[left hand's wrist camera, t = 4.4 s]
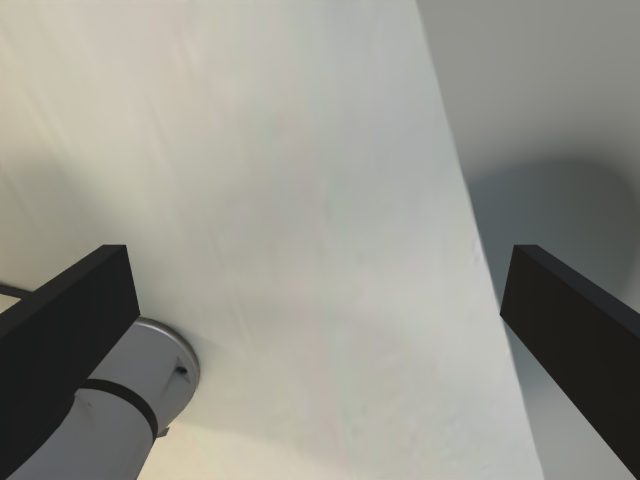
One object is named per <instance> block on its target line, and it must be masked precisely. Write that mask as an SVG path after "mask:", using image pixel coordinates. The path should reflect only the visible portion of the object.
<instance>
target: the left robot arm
mask: <svg viewBox="0 0 640 480" xmlns="http://www.w3.org/2000/svg"><path fill="white" fill-rule="evenodd" d="M0 294H4V295H8V296H12V297H17V298H20V299H22V300H20V301H19V302H17V303H16V304H14V305H13V306H11V307H10V308H8V309H7V310H5V311H4V312H2V313H1V314H0V480H137V478H138V476H139V473H140V471H141V469H142V467H143V465H144V463H145V461H146V459H147V457H148V455H149V453H150V450H151V448H152V446H153V444H154V442H155V440H156V438H159V437H163V436H166V434H167V432H168V430H169V428H170V427H168V428H166V427H167V426H168V425H169V424H170V423H171V422H172V421H173V420H174V419H175V418H176V417H177V416H178V415H179V414H180V413H181V411H182V410H183V409H184V408H185V407H186V406H187V404H188V403H189V401H190V400H191V398H192V396H193V394H194V392H195V390H196V387H197V385H198V381H199V365H198V361H197V358H196V356H195V354H194V352H193V350H192V349H191V347H190V346H189V344H188V343H187V342H186V341H185V340H184V339H183V338H182V337H181V336H180V335H179V334H177V333H176V332H175V331H173V330H172V329H170V328H169V327H167V326H165V325H163V324H161V323H158V322H156V321H153V320H149V319H146V318H140V317H139V316H140V310H139V306H138V301H137V296H136V291H135V286H134V282H133V277H132V272H131V267H130V262H129V257H128V253H127V248H126V245H102V246H101V247H99V248H98V249H96V250H95V251H93V252H92V253H90V254H89V255H87V256H86V257H84V258H83V259H81V260H80V261H78V262H77V263H75V264H74V265H72V266H71V267H69V268H68V269H66V270H65V271H63V272H62V273H60V274H59V275H58V276H56V277H55V278H53V279H52V280H50V281H49V282H47V283H46V284H44V285H43V286H41V287H40V288H38V289H37V290H35V291H34V292H32V293H30V292H27V291H24V290H20V289H15V288H11V287H7V286H3V285H0ZM500 316H501V317H502V318H503V319H504V321H505V322H506V323H507V324H508V325H509V327H510V328H511V329H512V330H513V331H514V333H515V334H516V335H517V336H518V337H519V339H520V340H521V341H522V342H523V343H524V345H525V346H526V347H527V348H528V349H529V351H530V352H531V353H532V354H533V355H534V357H535V358H536V359H537V360H538V361H539V363H540V364H541V365H542V366H543V368H544V369H545V370H546V371H547V372H548V374H549V375H550V376H551V377H552V378H553V379H554V381H555V382H556V383H557V384H558V385H559V387H560V388H561V389H562V390H563V392H564V393H565V394H566V395H567V396H568V398H569V399H570V400H571V401H572V402H573V404H574V405H575V406H576V407H577V408H578V409H579V411H580V412H581V413H582V414H583V416H584V417H585V418H586V419H587V420H588V422H589V423H590V424H591V425H592V426H593V427H594V429H595V430H596V431H597V432H598V434H599V435H600V436H601V437H602V438H603V440H604V441H605V442H606V443H607V444H608V446H609V447H610V448H611V449H612V450H613V452H614V453H615V454H616V455H617V456H618V458H619V459H620V460H621V461H622V462H623V464H624V465H625V466H626V467H627V468H628V470H629V471H630V472H631V473H632V474H633V476H634V477H635V478H636V479H637V480H640V314H639V313H638V312H636V311H635V310H633V309H632V308H630V307H629V306H627V305H626V304H624V303H623V302H621V301H620V300H618V299H617V298H615V297H614V296H612V295H611V294H609V293H608V292H606V291H605V290H603V289H602V288H600V287H599V286H597V285H596V284H594V283H593V282H591V281H590V280H588V279H587V278H585V277H584V276H582V275H581V274H580V273H578V272H577V271H575V270H574V269H572V268H571V267H569V266H568V265H566V264H565V263H563V262H562V261H560V260H559V259H557V258H556V257H554V256H553V255H551V254H550V253H548V252H547V251H545V250H544V249H542V248H541V247H539V246H538V245H514V248H513V253H512V258H511V262H510V267H509V272H508V277H507V282H506V286H505V291H504V296H503V301H502V306H501V310H500Z"/></svg>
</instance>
